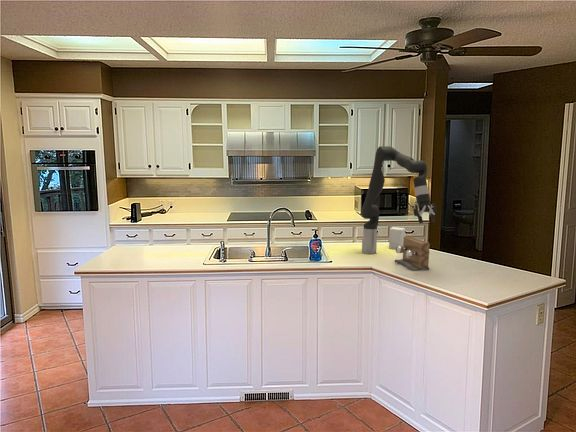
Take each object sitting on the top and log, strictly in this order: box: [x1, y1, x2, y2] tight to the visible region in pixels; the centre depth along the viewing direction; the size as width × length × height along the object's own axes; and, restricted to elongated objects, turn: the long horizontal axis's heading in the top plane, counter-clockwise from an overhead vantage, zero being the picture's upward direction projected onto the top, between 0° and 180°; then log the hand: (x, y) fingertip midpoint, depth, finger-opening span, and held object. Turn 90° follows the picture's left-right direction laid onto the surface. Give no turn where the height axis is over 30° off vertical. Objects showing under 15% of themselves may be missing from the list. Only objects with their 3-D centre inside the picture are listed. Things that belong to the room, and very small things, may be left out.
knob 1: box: [395, 246, 407, 254], centre depth 271 cm, size 8×4×4 cm, turn 104°
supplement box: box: [388, 226, 406, 251], centre depth 312 cm, size 9×9×15 cm
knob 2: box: [405, 250, 417, 258], centre depth 260 cm, size 8×4×4 cm, turn 104°
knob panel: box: [394, 236, 431, 272], centre depth 266 cm, size 11×22×16 cm, turn 14°
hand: (427, 222), depth 245 cm, fingers open, 8 cm apart
